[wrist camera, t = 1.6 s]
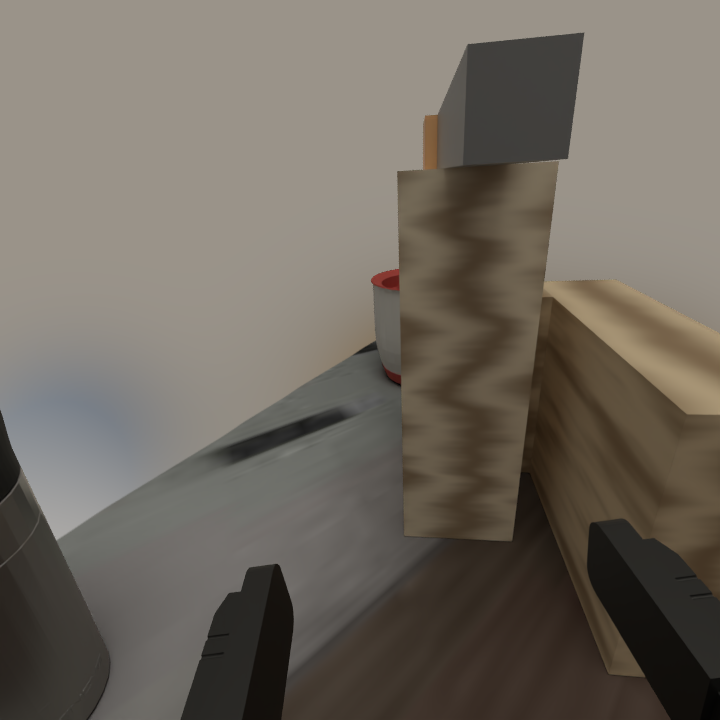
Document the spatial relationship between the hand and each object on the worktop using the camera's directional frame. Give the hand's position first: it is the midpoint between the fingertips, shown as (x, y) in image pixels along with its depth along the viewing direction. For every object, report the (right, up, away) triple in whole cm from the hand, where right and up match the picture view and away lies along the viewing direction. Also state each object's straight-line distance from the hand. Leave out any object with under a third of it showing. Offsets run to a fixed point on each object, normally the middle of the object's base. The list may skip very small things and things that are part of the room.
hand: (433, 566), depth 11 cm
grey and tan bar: (+6, +18, +18) cm, 26 cm away
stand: (+14, -11, +30) cm, 35 cm away
